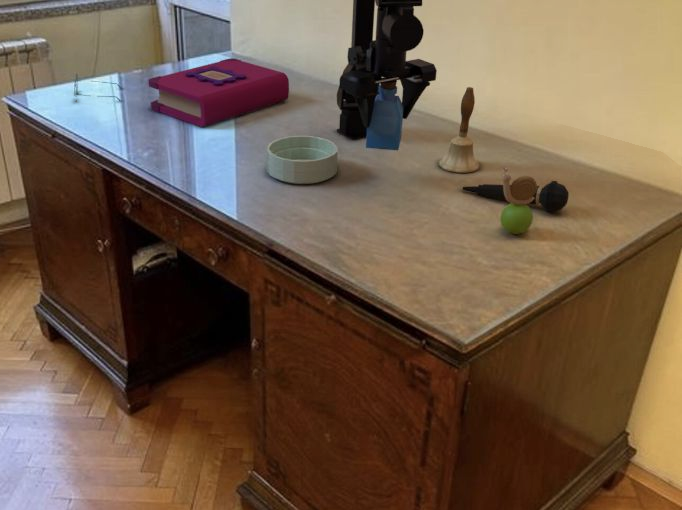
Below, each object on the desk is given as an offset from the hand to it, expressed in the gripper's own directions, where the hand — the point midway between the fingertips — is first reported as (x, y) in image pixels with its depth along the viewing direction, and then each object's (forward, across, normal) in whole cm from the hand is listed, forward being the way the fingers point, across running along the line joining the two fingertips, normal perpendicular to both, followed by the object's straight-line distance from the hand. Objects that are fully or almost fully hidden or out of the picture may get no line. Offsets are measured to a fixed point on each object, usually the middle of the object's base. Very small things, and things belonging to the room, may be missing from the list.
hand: (385, 122), depth 147 cm
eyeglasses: (+12, +28, -82) cm, 87 cm away
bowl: (+12, +11, -12) cm, 20 cm away
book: (+12, +5, -59) cm, 60 cm away
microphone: (+12, -15, +21) cm, 29 cm away
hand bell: (+12, -18, +2) cm, 22 cm away
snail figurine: (+12, -5, +30) cm, 33 cm away
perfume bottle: (+4, 0, 0) cm, 4 cm away
